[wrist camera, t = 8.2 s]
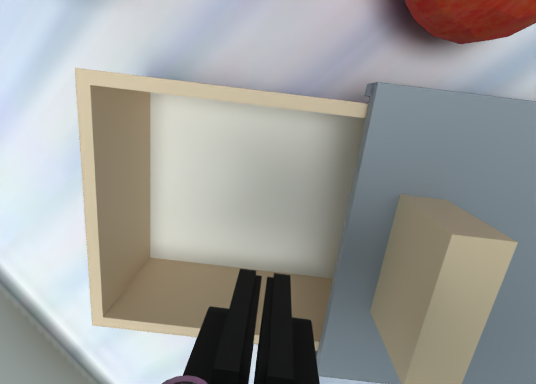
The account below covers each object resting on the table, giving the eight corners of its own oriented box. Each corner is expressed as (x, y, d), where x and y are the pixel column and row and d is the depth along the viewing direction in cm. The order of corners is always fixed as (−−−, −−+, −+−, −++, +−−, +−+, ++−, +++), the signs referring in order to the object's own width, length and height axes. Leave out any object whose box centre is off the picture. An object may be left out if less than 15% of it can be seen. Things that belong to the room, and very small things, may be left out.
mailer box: (380, 286, 23) (421, 362, 17) (145, 259, 23) (92, 325, 16) (425, 112, 19) (504, 119, 13) (144, 78, 19) (74, 68, 13)
